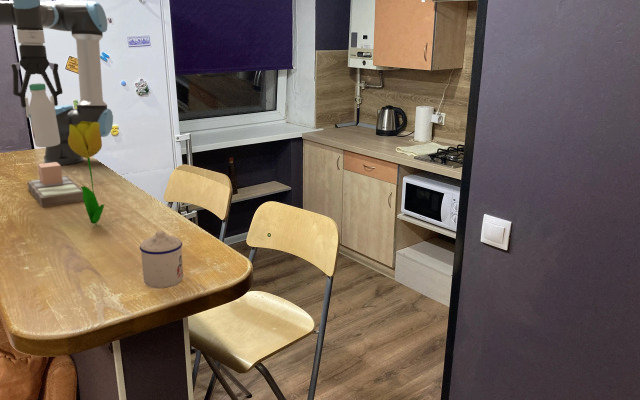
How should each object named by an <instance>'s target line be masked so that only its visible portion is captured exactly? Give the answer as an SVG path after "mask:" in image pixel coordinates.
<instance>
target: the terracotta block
mask: <svg viewBox="0 0 640 400" xmlns="http://www.w3.org/2000/svg"><path fill="white" fill-rule="evenodd" d="M37 169H38V175H39V180H40V181H41V182H42V184H43V185H47V184H54V183H62V182H63V180H62V177H63V174H62V173H63V172H62V165H60V164H58V163H57V162H52V163H37Z"/></svg>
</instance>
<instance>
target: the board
mask: <svg viewBox="0 0 640 400" xmlns="http://www.w3.org/2000/svg"><path fill="white" fill-rule="evenodd" d="M62 180H63V182H62V183H54V184H47V185H43V184H42V182H41V181H40V179H35V180H33V179H31V180H27V186H28V187H27V188H28V190H29V192H30V193H31V195H32V196H33V198H35V199H36V201H37V202H38V203H39V205H40V206H41V207H42V208H46V207H47V208H48V207H52V206H53V207H54V206H59V205H65V204H71V203H73V204H74V203H79V202H84V200H83V192H82V188H81V186H79V185H78V184H77V183H76V182H75V181H74V180H72V179H71V178H70V176H68V175H65V176H63V175H62Z"/></svg>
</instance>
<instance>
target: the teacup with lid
mask: <svg viewBox="0 0 640 400" xmlns="http://www.w3.org/2000/svg"><path fill="white" fill-rule="evenodd" d="M182 247H183V242H182V240H181V238H179V237H177V236H174V235H169V234H167V233H166V232H165V231H163V230H158V231H155V235H152V236H150V237H148V238H146V239H144V240H142V241H141V243H140V245H139V250H140V253H141V263H142V264H141V265H142V275H143V283H144V284H145V285H146V286H147V287H150V288H154V289H155V288H156V289H164V288H170V287H174V286H176V285H178V284H180V283H181V282H182V280H183V278H184V266H183V256H182V255H183V250H182Z"/></svg>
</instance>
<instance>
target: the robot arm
mask: <svg viewBox="0 0 640 400" xmlns="http://www.w3.org/2000/svg"><path fill="white" fill-rule="evenodd" d="M0 26H16V34H17V42H18V44H20V45H19V46H18V49H19V56H20V60H19V62H16V63H10V69H11V70H12V93H13V95H14V96H15V97H16V96H17V97H19V98H20V106H21V107H22V108H25V113H26V118H28V119H30V115H29V105H30V102H29V98H28V96H26V93H27V90H28V87H29V83H30V79H31V76H32V75H41V77H42V79H43V80H44V82H45V85H46V86H47V87H48V89H49V92H50V95H49V100H50V102H51V103H52V105H53V107H54V110H55V114H56V119H57V125H58V130H59V136H60V144H59V145H56V146H51V147H45V152H44V156H43V162H44V163H52V162H57V163H58V164H60V165H61V166H64V165H66V166H67V165H73V164H77V163H80V162H83V161H84V157H81V156H80V155H78V154H77V153H75V152H74V151H73V150H72V149H71V148H70V146H69V144H68V137H69V125H70V124H71V125H74V126H75V125H77V124H79V123H80V122H81V121H86V122H98V123H100V135H101V138H104V137H108V136H109V135H110V133H111V132H112V129H113V122H114V114H113V111H112V110H111V109H110V108H108V104H107V103H106V102H105V101H104V97H103V96H104V95H103V82H102V79H103V78H102V69H101V67H102V64H101V51H100V49H101V48H100V41H101V40H102V39H103V35H104V34H103V33H106V32H107V31H108V19H107V16H106V12H105V10H104V8H103V6H102V5H101V4H100V3H99V2H97V1H89V0H54V1H53V0H52V1H45V2H44V1H43V2H42V1H41V0H12V1H4V0H0ZM44 29H49V30H56V31H61V32H62V31H63V32H71V36H72V37H73V39H75V43H76V55H77V57H76V58H77V70H78V73H77V74H78V83H79V84H78V87H79V98H80V100H79V102H78V103H76V108H74V106H73V105H72V104H66V105H65V104H63V105H59V101H58V96H59V95H62V94H63V88H62V83H61V80H60V75H59V71H58V70H59V64H58V63H53V62H49V60H48V57H47V56H48V55H47V50H46V49H47V48H46V45H44V44H45V43H46V41H45V34H44ZM48 67H49V68H50V69H51V71H52V75H53V80H54V85H55V88H56V89H55V88H54V86H53V84H52V82H51V80H50V77H49V76H48V74H47V72H46V71H47V69H48ZM20 68H22V69H23V70H24V72H25V73H24V77H23V81H22V84H21V88H20V92H19V70H20ZM44 163H43V164H44Z"/></svg>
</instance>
